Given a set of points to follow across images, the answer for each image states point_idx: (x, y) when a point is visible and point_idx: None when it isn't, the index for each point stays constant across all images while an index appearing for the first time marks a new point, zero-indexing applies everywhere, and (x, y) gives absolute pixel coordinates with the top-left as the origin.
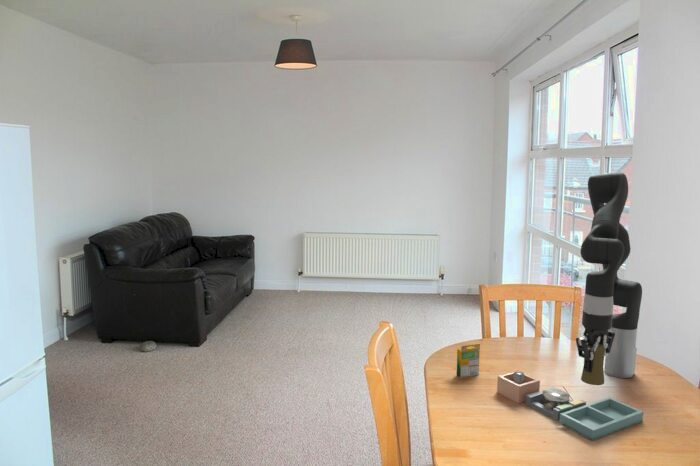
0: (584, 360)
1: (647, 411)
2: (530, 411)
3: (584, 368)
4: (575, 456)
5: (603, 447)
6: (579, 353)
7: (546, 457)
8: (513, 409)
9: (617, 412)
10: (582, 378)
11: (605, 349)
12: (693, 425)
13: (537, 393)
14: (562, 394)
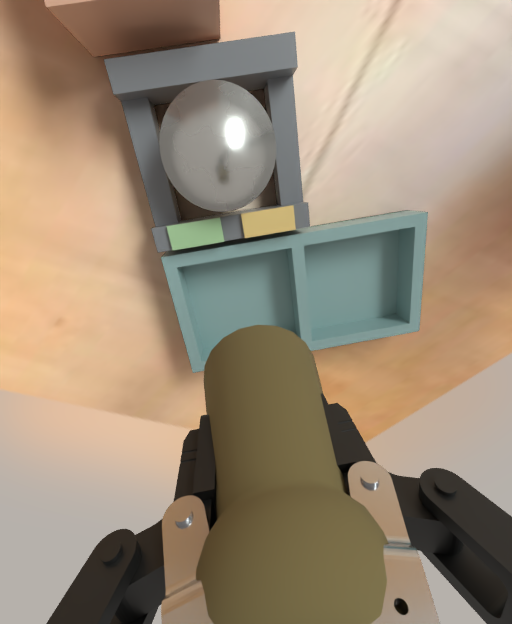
0: (175, 494)
1: (471, 278)
2: (117, 134)
3: (187, 441)
4: (103, 396)
5: (199, 384)
6: (79, 590)
7: (23, 383)
8: (53, 87)
9: (383, 266)
10: (206, 370)
11: (427, 548)
12: (485, 367)
13: (170, 68)
14: (243, 166)
